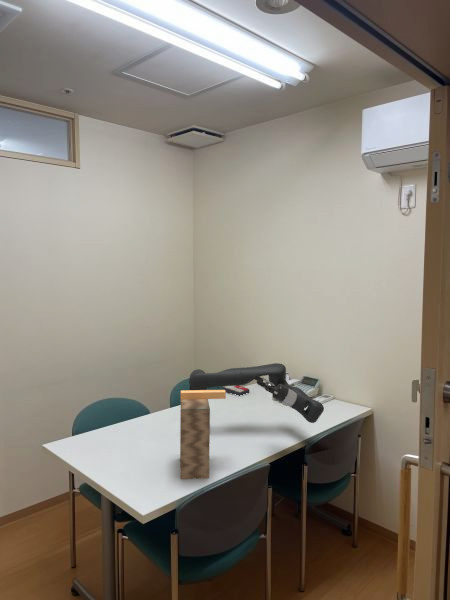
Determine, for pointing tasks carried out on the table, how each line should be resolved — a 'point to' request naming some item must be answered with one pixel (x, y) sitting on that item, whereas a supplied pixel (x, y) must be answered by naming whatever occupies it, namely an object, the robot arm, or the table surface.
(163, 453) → the table surface
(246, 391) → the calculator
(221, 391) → the rod
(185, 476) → the stand
